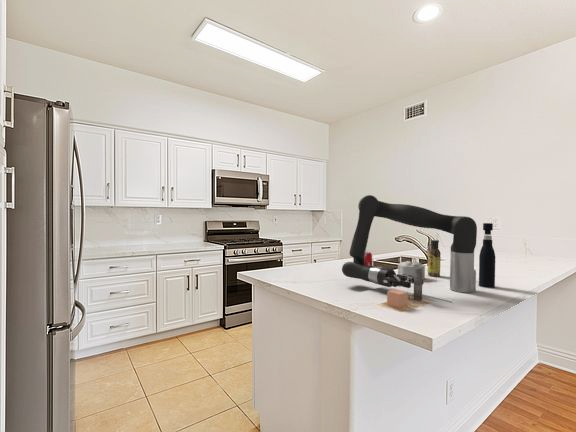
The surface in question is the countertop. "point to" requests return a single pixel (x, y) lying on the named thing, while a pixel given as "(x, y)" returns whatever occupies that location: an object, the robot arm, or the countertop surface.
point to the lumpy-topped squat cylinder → (410, 268)
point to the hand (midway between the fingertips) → (416, 283)
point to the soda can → (368, 258)
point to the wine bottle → (487, 259)
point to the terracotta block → (397, 298)
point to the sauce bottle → (434, 259)
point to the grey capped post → (417, 298)
